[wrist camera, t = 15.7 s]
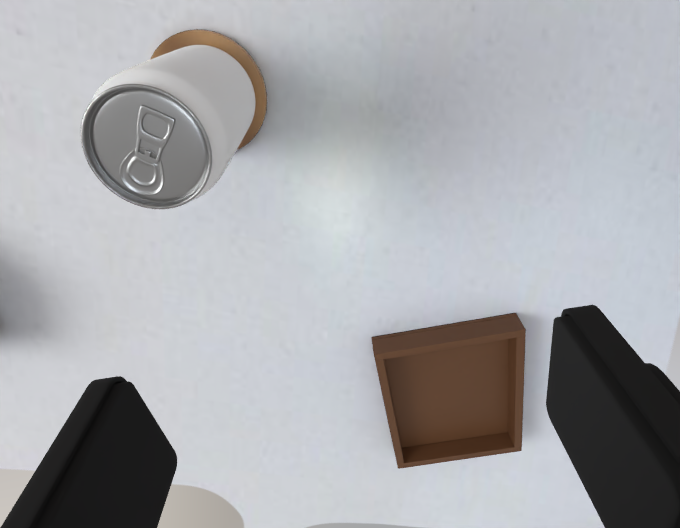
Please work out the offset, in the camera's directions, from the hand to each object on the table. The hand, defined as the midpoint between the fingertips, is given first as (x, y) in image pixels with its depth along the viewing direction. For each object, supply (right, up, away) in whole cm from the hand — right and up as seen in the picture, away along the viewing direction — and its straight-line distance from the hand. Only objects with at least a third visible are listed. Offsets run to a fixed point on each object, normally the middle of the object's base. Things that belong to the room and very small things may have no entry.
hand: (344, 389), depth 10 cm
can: (-9, +14, +20) cm, 26 cm away
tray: (+11, -10, +36) cm, 39 cm away
